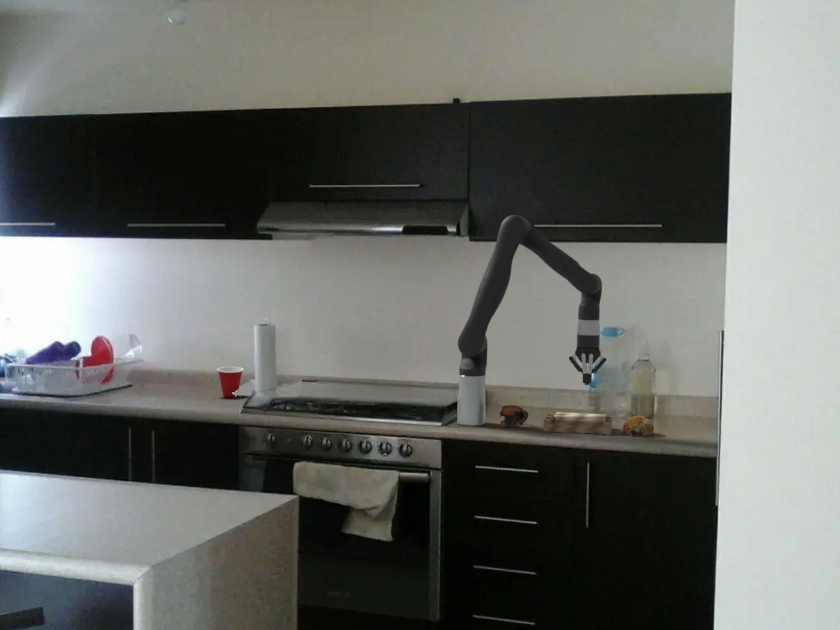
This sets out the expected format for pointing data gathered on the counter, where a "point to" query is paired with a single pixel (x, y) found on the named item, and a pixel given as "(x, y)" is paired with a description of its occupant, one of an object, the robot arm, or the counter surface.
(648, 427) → the bread roll
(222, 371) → the plastic cup
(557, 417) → the hinged leg
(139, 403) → the counter surface
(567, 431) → the wooden slat frame
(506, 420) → the pottery mug
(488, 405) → the counter surface
